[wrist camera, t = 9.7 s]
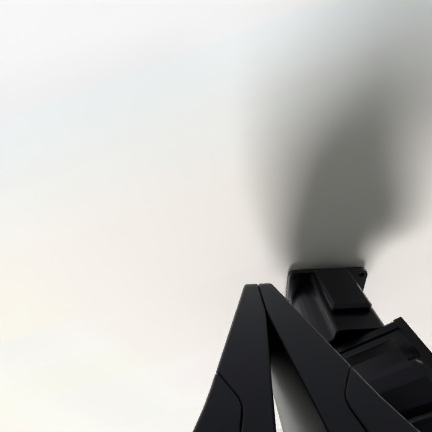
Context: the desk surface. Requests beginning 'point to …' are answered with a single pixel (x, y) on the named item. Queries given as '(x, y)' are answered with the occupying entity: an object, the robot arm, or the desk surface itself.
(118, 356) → the desk surface
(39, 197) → the desk surface
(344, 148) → the desk surface
